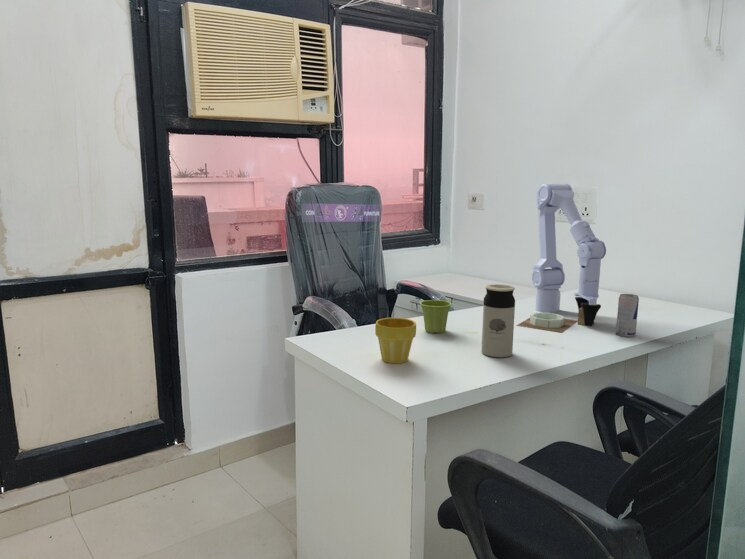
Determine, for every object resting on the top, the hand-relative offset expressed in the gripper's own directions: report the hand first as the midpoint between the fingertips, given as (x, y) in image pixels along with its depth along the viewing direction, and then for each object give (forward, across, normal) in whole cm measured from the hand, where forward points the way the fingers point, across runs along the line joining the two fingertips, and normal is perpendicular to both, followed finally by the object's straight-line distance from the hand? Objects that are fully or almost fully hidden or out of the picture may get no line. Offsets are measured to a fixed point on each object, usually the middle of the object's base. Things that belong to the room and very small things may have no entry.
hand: (585, 322), depth 172 cm
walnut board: (+1, +1, -12) cm, 12 cm away
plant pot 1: (+2, +43, -55) cm, 69 cm away
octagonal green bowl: (0, +2, -12) cm, 12 cm away
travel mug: (+2, +33, -29) cm, 44 cm away
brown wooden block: (+2, 0, 0) cm, 2 cm away
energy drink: (+2, +7, +10) cm, 12 cm away
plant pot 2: (+2, +13, -46) cm, 48 cm away
